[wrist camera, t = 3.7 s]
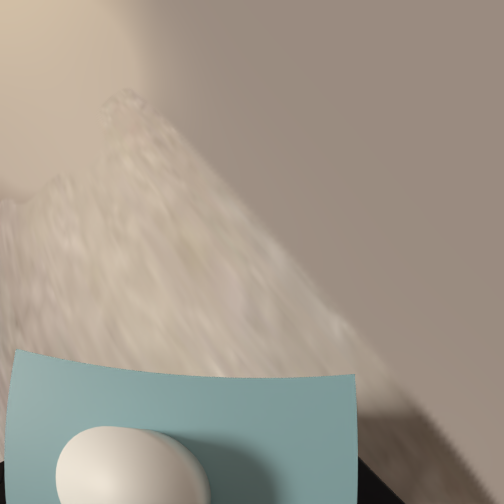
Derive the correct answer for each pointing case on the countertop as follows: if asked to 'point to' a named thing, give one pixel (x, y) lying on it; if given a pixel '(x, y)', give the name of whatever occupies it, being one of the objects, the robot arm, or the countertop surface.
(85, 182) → the countertop surface
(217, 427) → the carton
